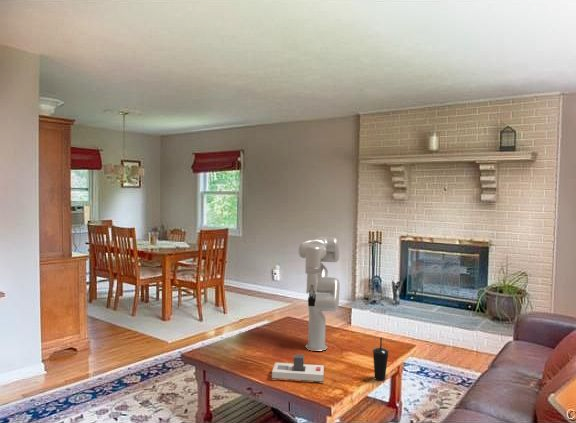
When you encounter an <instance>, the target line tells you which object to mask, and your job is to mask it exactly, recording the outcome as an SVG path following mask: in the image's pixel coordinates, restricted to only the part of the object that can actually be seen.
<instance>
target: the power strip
mask: <svg viewBox="0 0 576 423" xmlns="http://www.w3.org/2000/svg"><path fill="white" fill-rule="evenodd" d="M324 369H325V365H323V364H322V365H319V364H306V363H304V368H303V371H294V363H290V362H274V365H273V368H272V371H271V380H272V379H289V380H301V381H313V382H323V383H324V374H325V370H324Z"/></svg>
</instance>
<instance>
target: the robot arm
mask: <svg viewBox="0 0 576 423" xmlns="http://www.w3.org/2000/svg"><path fill="white" fill-rule="evenodd" d="M298 255H299V257H300V258H302V259H305V270H304V272H305V274H307V275H306V292H305V293H306V294H308V297H307V308H308V338H307V339H308V340H307V342H308V343H306V345H305V347H306V348H307V349H309V350H315V351H322V350H326V349H327V348H328V345H326V320H327V319H326V316H325V313H323V312H336V311H338V310H339V305H340V290H341V288H340V280H339V279H338V278H336V277H332V276H331V277H330V276H329V277H328V275H329V274H328V273H329V271H328V268H327V267H326V266H325V264H324V263H337V262H338V261H339V259H340V247H339V241H338V239H337V238H336V237H335V236H332V237H331V236H317V237H316V238H314V239H312V240H307V241H303V242H301V244H299V247H298ZM306 348H305V349H306ZM307 349H306V350H307ZM309 350H308V351H309ZM327 350H328V349H327ZM327 350H326V351H327Z"/></svg>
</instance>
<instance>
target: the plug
mask: <svg viewBox="0 0 576 423" xmlns="http://www.w3.org/2000/svg"><path fill="white" fill-rule="evenodd" d="M304 360H305V355H304V354H294V356H293V364H294V371H303V368H304V364H305V361H304Z"/></svg>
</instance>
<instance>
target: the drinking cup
mask: <svg viewBox="0 0 576 423" xmlns="http://www.w3.org/2000/svg"><path fill="white" fill-rule="evenodd" d="M379 338H380V339H379V340H380V341H379V345H380V346H379V347H375V348H373V349H372V353H373V354H372V355H373V369H374V379H375V378H376V379H375V380H377V381H378V382H379V381H381V382H382V381H383V382H384V381H385V380H386V375H387V374H386V373H387V367H388V358H389V357H388V356H389V353H390V351H389V350H388V349H386V348H384V347H382V342H383V337H381V336H380V337H379Z"/></svg>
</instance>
